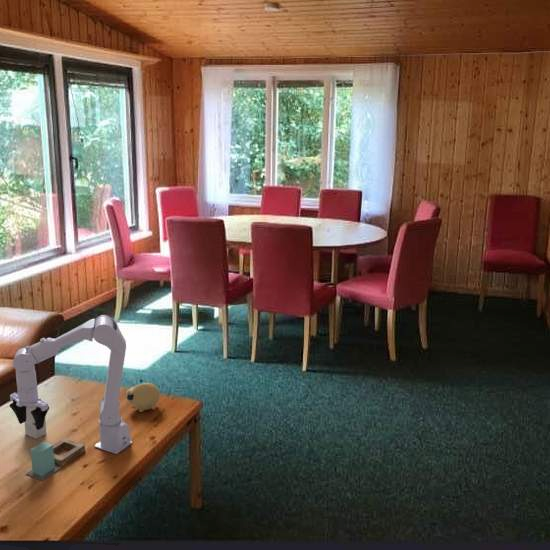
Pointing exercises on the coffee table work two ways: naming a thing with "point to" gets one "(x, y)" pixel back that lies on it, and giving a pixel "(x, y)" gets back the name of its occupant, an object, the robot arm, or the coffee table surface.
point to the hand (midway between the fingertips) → (31, 425)
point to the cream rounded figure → (143, 396)
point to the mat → (43, 475)
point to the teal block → (42, 458)
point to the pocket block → (73, 453)
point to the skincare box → (33, 424)
